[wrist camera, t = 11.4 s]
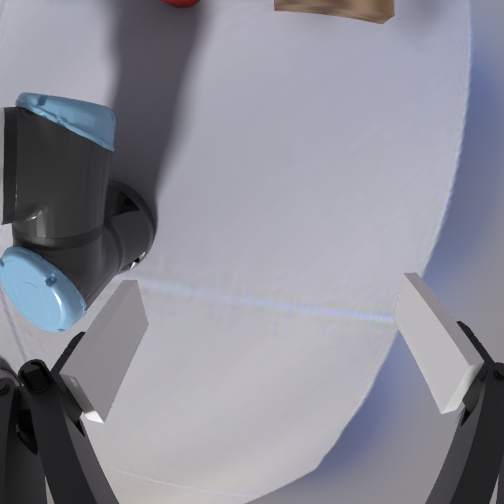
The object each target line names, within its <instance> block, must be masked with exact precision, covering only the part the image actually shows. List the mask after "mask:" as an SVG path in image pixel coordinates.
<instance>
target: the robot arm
mask: <svg viewBox="0 0 504 504" xmlns="http://www.w3.org/2000/svg"><path fill="white" fill-rule="evenodd" d="M15 105H17V106H16V107H7V108H0V225H4V224H9V223H12V235H13V246H12V247H9V248H7V249H6V250H5V252H4V254H3V255H2V258H1V259H0V281H1V284H2V287H3V289H4V291H5V293H6V295H7V296H8V298H9V300H10V301H11V303H12V304H13V305H14V307H15V308H16V309H17V310H18V311H19V312H20V313H21V314H22V315H23V316H24V317H25V318H26V319H28V320H29V321H30V322H32V323H33V324H35V325H36V326H38V327H40V328H42V329H45V330H48V331H52V332H63V331H65V330H68V329H70V328H71V327H72V326H73V325H74V324H75V323H76V322H77V321H78V320H79V319H80V318H82V317H83V316H84V315H85V314H86V311H87V309H88V308H89V307H90V305H91V304H92V303H93V302H94V300H95V299H96V298H97V297H98V295H99V294H100V293H101V292H102V291H103V289H104V288H105V287H106V286H107V284H108V283H109V282H110V281H111V280H112V278H113V277H114V276H115V275H118V274H120V273H123V272H126V271H128V270H131V269H132V268H134V267H136V266H137V265H138V264H139V263H140V262H141V261H142V260H143V259H144V258H145V256H146V255H147V254H148V252H149V251H150V249H151V246H152V243H153V239H154V223H153V218H152V215H151V212H150V210H149V208H148V206H147V204H146V203H145V201H144V200H143V199H142V197H141V196H140V195H139V194H138V193H137V192H135V191H134V190H133V189H131V188H130V187H128V186H126V185H124V184H121V183H118V182H108V180H109V173H110V165H111V158H112V152H114V146H113V142H114V133H115V126H116V117H115V114H114V113H113V111H112V110H111V109H110V108H108V107H106V106H103V105H99V104H95V103H90V102H85V101H80V100H75V99H70V98H64V97H57V96H48V95H42V94H36V93H21V94H20V95H19V97H18V99H17V100H16V103H15ZM393 319H394V321H395V323H396V324H397V326H398V328H399V330H400V332H401V333H402V335H403V337H404V339H405V341H406V343H407V345H408V346H409V348H410V350H411V352H412V354H413V356H414V358H415V360H416V362H417V364H418V366H419V368H420V370H421V372H422V374H423V376H424V378H425V380H426V382H427V384H428V386H429V388H430V390H431V393H432V395H433V397H434V399H435V401H436V403H437V405H438V407H439V410H440V412H441V414H443V413H447V412H450V411H453V410H456V409H457V407H458V406H459V404H460V403H461V401H463V403H464V404H465V407H464V409H463V410H462V412H461V413H460V415H459V416H458V417H457V419H456V421H455V423H457V422H458V420H459V419H460V420H459V423H458V426H457V429H456V432H455V435H454V438H453V441H452V444H451V446H450V449H449V452H448V454H447V457H446V459H445V462H444V464H443V467H442V469H441V471H440V474H439V476H438V478H437V480H436V483H435V485H434V487H433V489H432V491H431V493H430V495H429V497H428V499H427V501H426V503H425V504H489V503H490V500H491V497H492V494H493V491H494V488H495V484H496V481H497V477H498V474H499V481H498V491H497V501H496V504H504V364H503V363H498V362H497V363H495V362H494V361H493V360H492V358H491V357H490V356H489V354H488V353H487V351H486V350H485V348H484V347H483V346H482V344H481V343H480V342H479V340H478V339H477V338H476V336H474V333H473V332H472V331H471V330H470V328H469V327H468V326H466V325H465V324H464V323H462V322H461V321H457V322H456V321H455V320H454V319H453V317H452V316H451V315H450V313H449V312H448V311H447V310H446V309H445V307H444V306H443V304H442V303H441V302H440V301H439V299H438V298H437V297H436V296H435V295H434V293H433V292H432V291H431V290H430V289H429V287H428V286H427V285H426V284H425V282H424V281H423V280H422V279H421V278H420V277H419V275H418V274H417V273H403V278H402V283H401V287H400V292H399V296H398V301H397V305H396V309H395V313H394V317H393ZM148 325H149V324H148V321H147V317H146V313H145V310H144V306H143V302H142V298H141V294H140V290H139V286H138V282H137V280H123V282H122V283H121V284H120V286H119V287H118V288H117V290H116V291H115V292H114V294H113V295H112V296H111V298H110V299H109V300H108V302H107V303H106V305H105V306H104V307H103V309H102V310H101V311H100V313H99V314H98V316H97V317H96V319H95V320H94V321H93V323H92V324H91V326H90V327H89V329H88V330H87V331H86V332H80V333H79V334H77V335H76V336H75V337H74V338H73V339H72V340H71V341H70V343H69V344H68V346H67V348H66V349H65V350H64V352H63V354H62V355H61V356H60V358H59V359H58V361H57V362H56V364H55V365H54V367H53V368H52V370H51V371H49V369H48V368H47V366H46V364H45V362H43V361H42V360H39V359H34V360H30V361H28V362H26V363H25V364H24V365H23V366H22V367H21V368H20V370H19V371H18V377H19V379H20V380H21V382H22V383H23V385H24V386H17V385H16V384H15V382H14V381H13V379H11V378H10V377H4V378H1V379H0V504H47V497H46V485H45V476H46V479H47V483H48V486H49V489H50V492H51V495H52V497H53V500H54V503H55V504H119V502H118V500H117V499H116V497H115V495H114V493H113V491H112V489H111V487H110V485H109V483H108V481H107V479H106V477H105V475H104V473H103V471H102V468H101V466H100V464H99V462H98V460H97V457H96V455H95V453H94V450H93V448H92V445H91V443H90V440H89V438H88V435H87V433H86V430H85V427H84V425H83V422H82V420H81V419H80V416H81V414H82V411H83V412H84V414H85V415H86V417H87V418H88V419H89V420H92V421H96V422H101V423H104V422H105V420H106V418H107V415H108V413H109V410H110V408H111V406H112V403H113V401H114V399H115V396H116V394H117V392H118V390H119V387H120V385H121V383H122V381H123V378H124V376H125V374H126V372H127V369H128V367H129V365H130V363H131V361H132V359H133V356H134V354H135V352H136V350H137V348H138V346H139V344H140V341H141V339H142V337H143V335H144V333H145V331H146V329H147V327H148Z"/></svg>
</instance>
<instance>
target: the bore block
mask: <svg viewBox="0 0 504 504" xmlns="http://www.w3.org/2000/svg"><path fill="white" fill-rule="evenodd" d="M274 7H275V11H293V12H306V13H317V14H326V15H334V16H341V17H347V18H353V19H359V20H364V21H369V22H374V23H379V24H383V23H384V22H386V21H387V20H389V19H390V18H391V17H393V16H394V15H395V14H394V5H393V0H274Z"/></svg>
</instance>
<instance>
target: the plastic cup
mask: <svg viewBox="0 0 504 504" xmlns="http://www.w3.org/2000/svg"><path fill="white" fill-rule="evenodd" d="M160 1H162V2H165V3H167V4H169V5H172V6H174V7H178V8H185V7H189V6H192V5H194V4H195V3H197V2H199V0H160Z"/></svg>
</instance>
